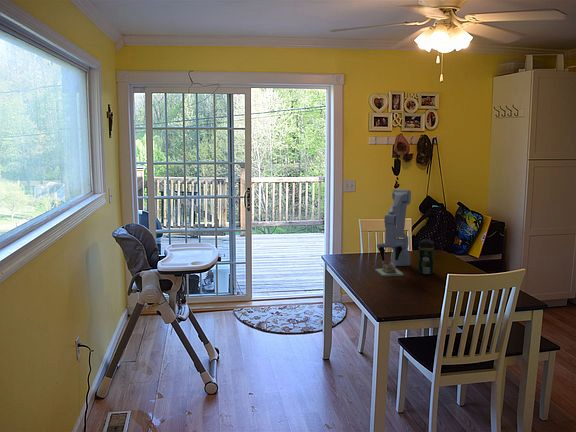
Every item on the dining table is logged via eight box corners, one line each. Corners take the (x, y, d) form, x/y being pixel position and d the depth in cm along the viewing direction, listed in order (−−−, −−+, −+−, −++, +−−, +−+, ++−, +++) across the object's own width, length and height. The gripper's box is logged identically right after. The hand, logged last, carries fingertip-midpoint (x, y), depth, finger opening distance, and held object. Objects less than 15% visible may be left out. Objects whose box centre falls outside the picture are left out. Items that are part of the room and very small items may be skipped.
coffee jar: (418, 270, 288) (420, 237, 286) (433, 271, 286) (435, 238, 283) (416, 274, 279) (418, 241, 277) (432, 275, 277) (433, 242, 274)
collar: (392, 269, 284) (392, 264, 284) (395, 272, 279) (395, 266, 279) (383, 269, 284) (383, 264, 283) (386, 272, 279) (386, 267, 278)
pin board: (395, 270, 288) (396, 261, 288) (403, 275, 277) (404, 266, 276) (375, 270, 287) (375, 262, 286) (382, 276, 275) (382, 267, 274)
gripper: (380, 237, 273) (379, 262, 276) (406, 237, 276) (405, 261, 278) (376, 235, 280) (375, 259, 282) (401, 234, 282) (400, 258, 285)
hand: (389, 260), depth 281 cm, fingers open, 7 cm apart
